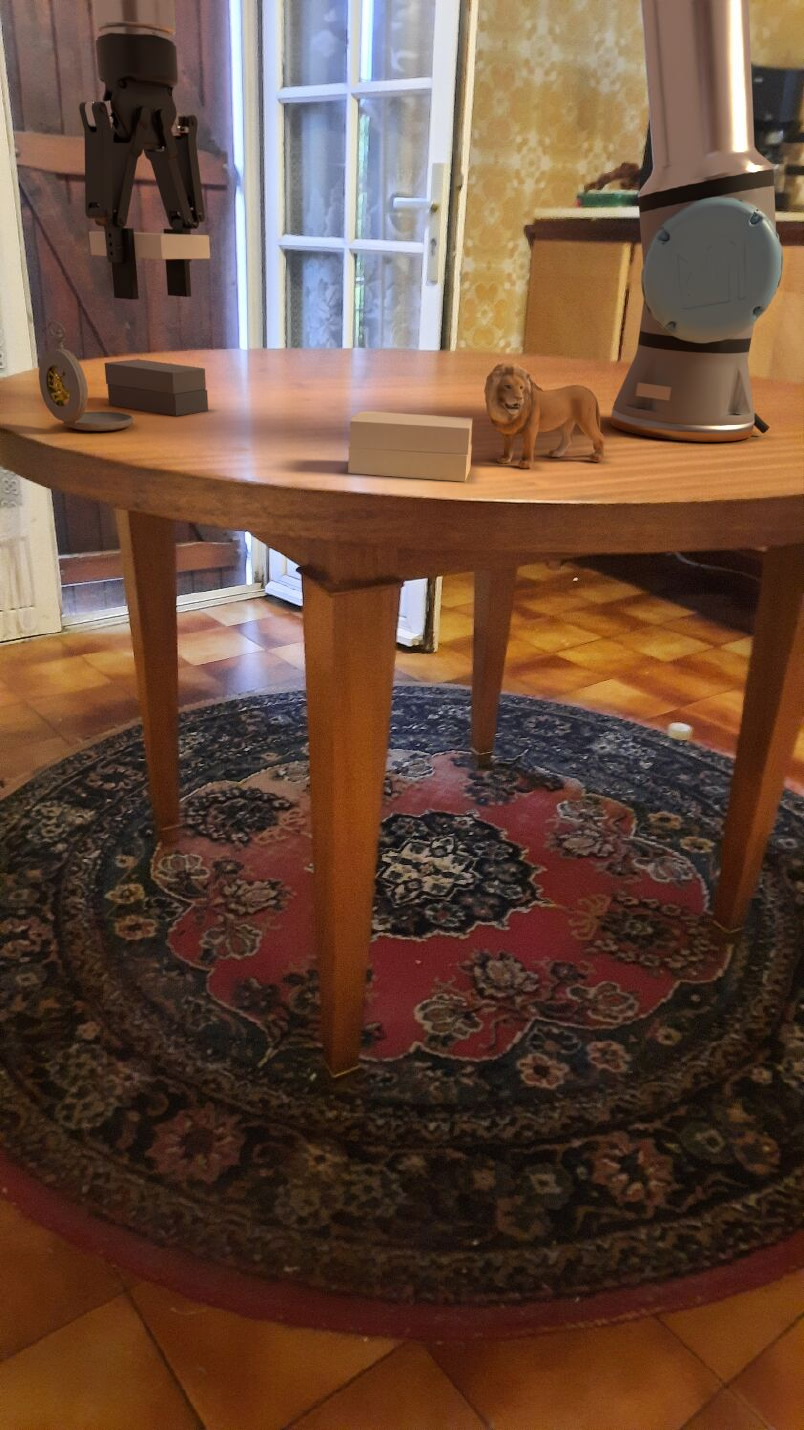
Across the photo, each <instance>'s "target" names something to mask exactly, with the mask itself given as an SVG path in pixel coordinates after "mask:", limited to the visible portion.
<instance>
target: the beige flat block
mask: <svg viewBox="0 0 804 1430" xmlns="http://www.w3.org/2000/svg"><path fill="white" fill-rule="evenodd" d="M88 235H89V245H90V255H91V256H102V257H107V253H106V251H107V250H106V241H105V231H89V232H88ZM134 244H135V257H136V259H149V260H150V259H151V260H165V259H191V260H210V259H211V250H210V248H211V247H210V235H209V234H208V235H207V234H191V235H187V234H164V232H163V233H161V232H138V231H137V232H136V231H134Z"/></svg>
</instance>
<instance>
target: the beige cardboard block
mask: <svg viewBox="0 0 804 1430" xmlns="http://www.w3.org/2000/svg"><path fill="white" fill-rule="evenodd" d="M473 423H474V419H473V417H463V416H462V417H461V416H449V415H448V416H447V415H446V416H444V415H431V414H430V415H429V414H412V413H396V412H381V411H380V412H379V411H364V410H363V411H362V410H359V411H357V412H356V414H355V415H354V416H353V417H352V418H351V419H350V420H349V446H348V466H347V467H348V470H347V473H348V474H354V475H369V476H380V477H381V476H382V477H393V478H395V477H396V478H410V479H423V480H436V481H452V482H461V483H462V482H464V483H465V482H466V481H467V478H468V476H469V474H470V472H471V464H472V450H473V444H472V436H473Z"/></svg>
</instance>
